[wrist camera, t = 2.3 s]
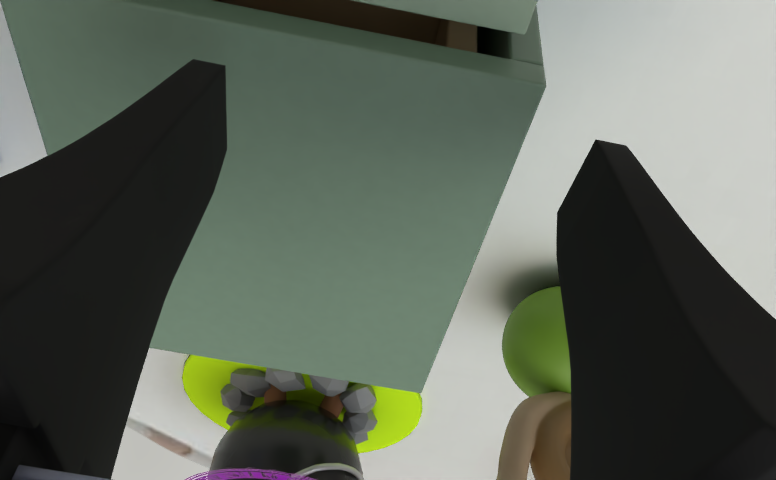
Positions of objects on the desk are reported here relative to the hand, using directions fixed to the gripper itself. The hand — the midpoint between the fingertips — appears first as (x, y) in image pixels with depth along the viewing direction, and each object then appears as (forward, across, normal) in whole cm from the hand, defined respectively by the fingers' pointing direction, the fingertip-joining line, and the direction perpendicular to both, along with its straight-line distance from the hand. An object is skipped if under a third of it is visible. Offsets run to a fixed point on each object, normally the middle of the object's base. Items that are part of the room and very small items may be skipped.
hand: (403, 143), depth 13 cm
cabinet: (+10, +3, +6) cm, 12 cm away
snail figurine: (+10, -9, +15) cm, 20 cm away
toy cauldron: (+10, +2, +29) cm, 31 cm away
